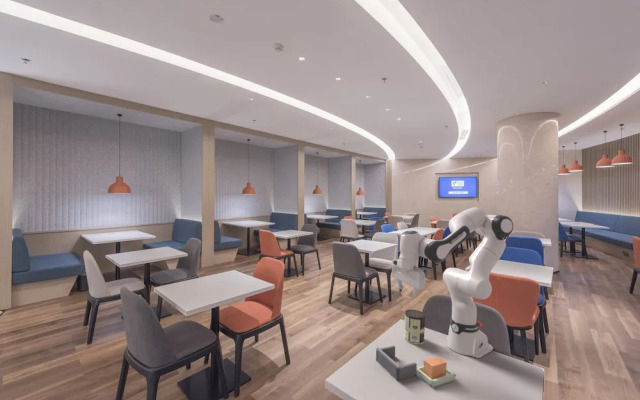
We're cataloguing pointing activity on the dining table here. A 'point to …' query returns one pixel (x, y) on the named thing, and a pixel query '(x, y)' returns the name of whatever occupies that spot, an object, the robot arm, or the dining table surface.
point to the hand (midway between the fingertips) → (407, 292)
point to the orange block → (435, 367)
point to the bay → (394, 364)
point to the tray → (438, 381)
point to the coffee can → (414, 327)
